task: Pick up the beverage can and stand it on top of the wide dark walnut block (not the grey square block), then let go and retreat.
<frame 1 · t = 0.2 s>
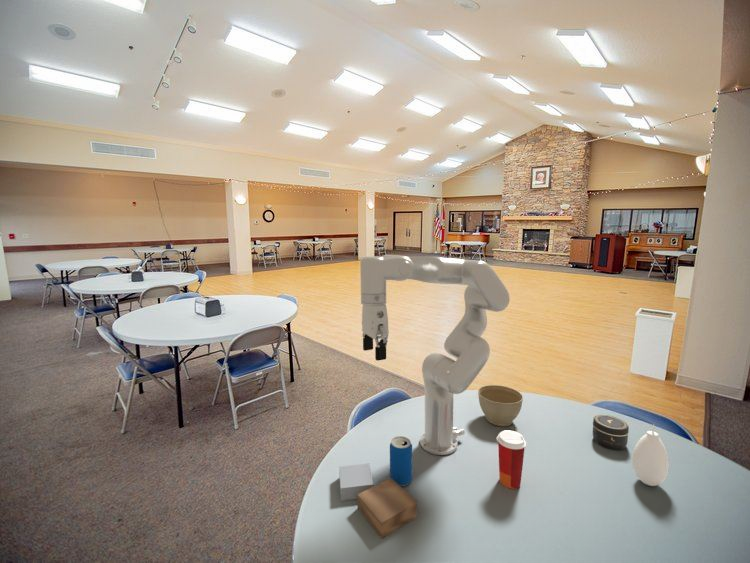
hand: (374, 354, 102), 36 cm above the table, tool pointing down, fingers open, 9 cm apart
jar: (609, 443, 116), on the table
walnut block: (386, 512, 88), on the table
white egg shaped candle: (648, 483, 97), on the table
beverage can: (401, 480, 100), on the table
paper cup: (509, 482, 98), on the table
grey square block: (356, 488, 97), on the table
planter bowl: (499, 420, 132), on the table
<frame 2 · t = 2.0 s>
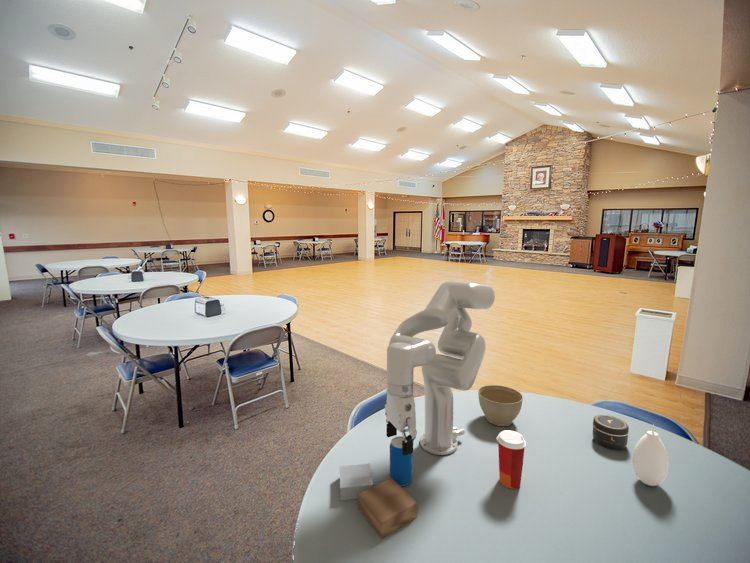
hand: (399, 444, 98), 12 cm above the table, tool pointing down, fingers open, 9 cm apart
nothing on the table moved.
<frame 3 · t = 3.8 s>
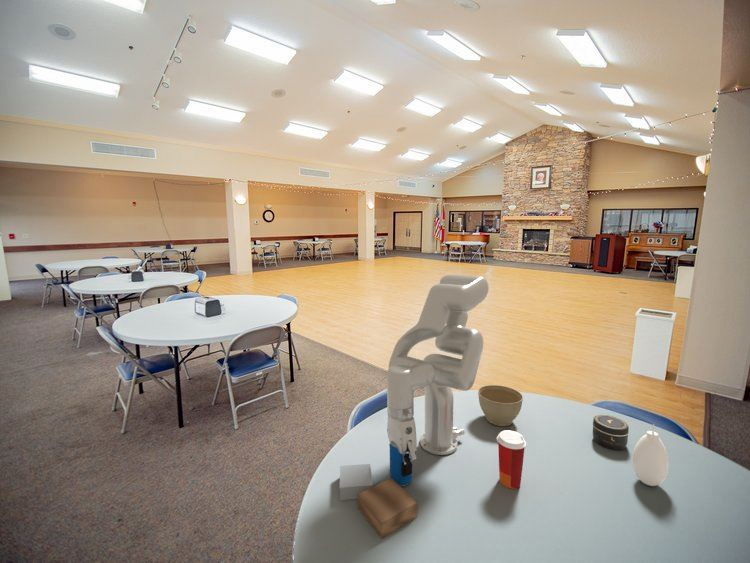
hand: (400, 466, 99), 4 cm above the table, tool pointing down, fingers closed on beverage can, 6 cm apart
beverage can: (401, 480, 100), on the table, touching gripper
everything else where it was.
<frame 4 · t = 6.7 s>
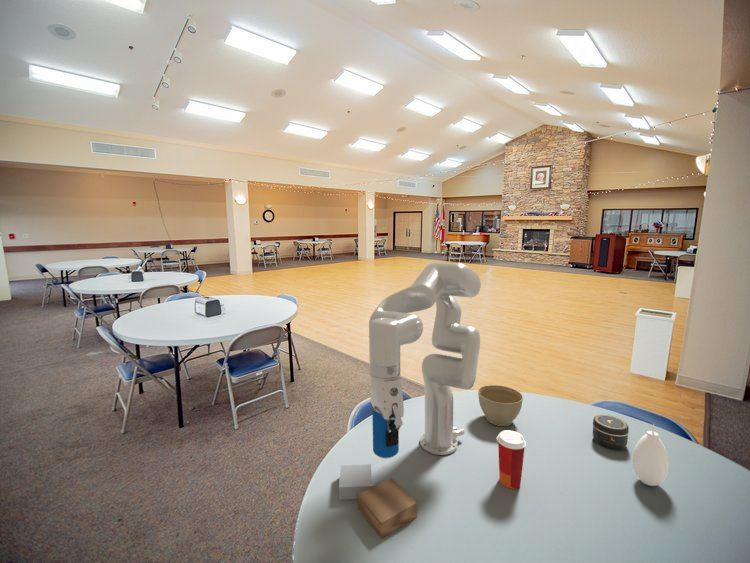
hand: (385, 436, 85), 21 cm above the table, tool pointing down, fingers closed on beverage can, 6 cm apart
beverage can: (385, 453, 86), point 17 cm above the table, touching gripper
everything else where it was.
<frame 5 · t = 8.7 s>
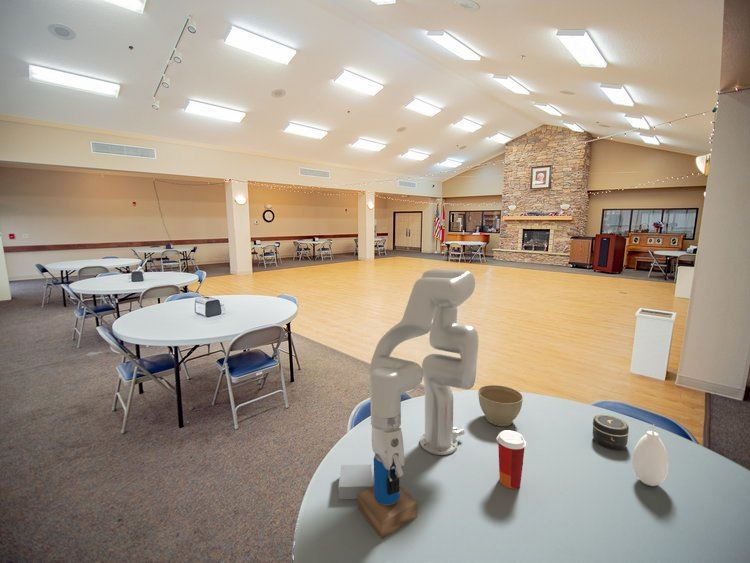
hand: (386, 482, 87), 8 cm above the table, tool pointing down, fingers closed on beverage can, 6 cm apart
beverage can: (386, 498, 88), point 4 cm above the table, touching gripper
everything else where it was.
when the fingers open (8 cm above the table, at t = 9.8 s): beverage can stays where it is, resting on walnut block.
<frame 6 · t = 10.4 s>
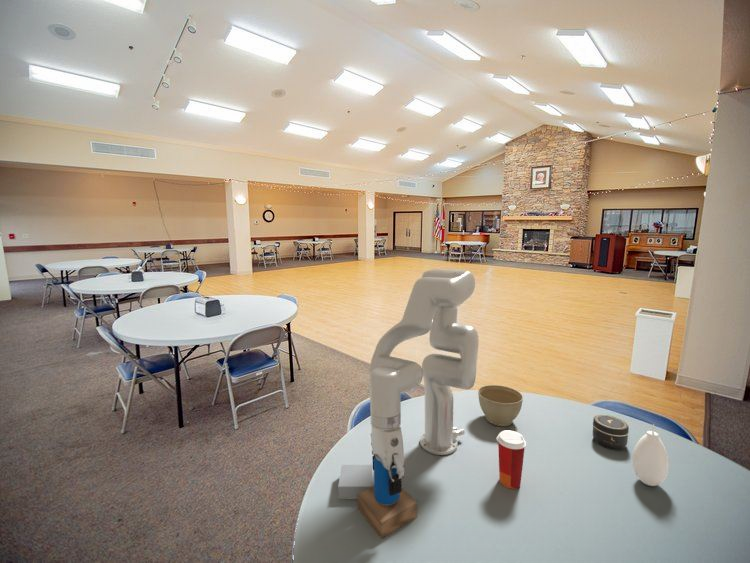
hand: (386, 480, 87), 9 cm above the table, tool pointing down, fingers open, 9 cm apart
beverage can: (386, 498, 88), point 4 cm above the table, touching walnut block
everything else where it was.
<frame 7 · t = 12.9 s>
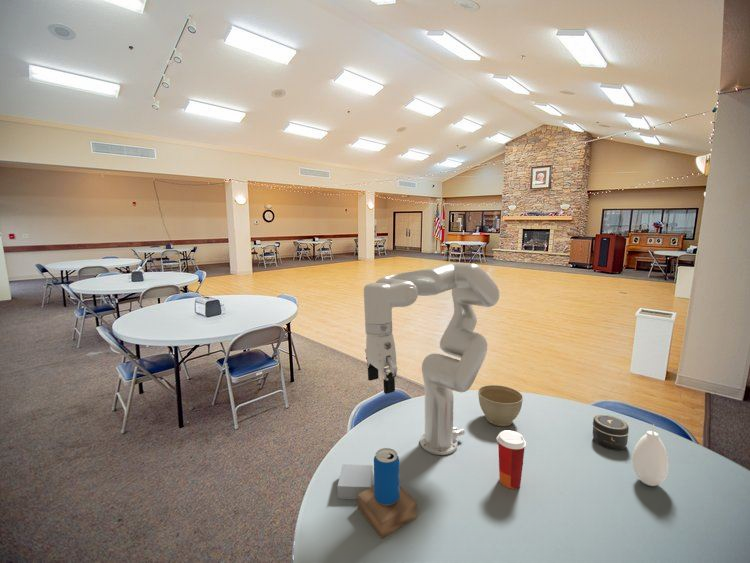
hand: (381, 385, 97), 29 cm above the table, tool pointing down, fingers open, 9 cm apart
nothing on the table moved.
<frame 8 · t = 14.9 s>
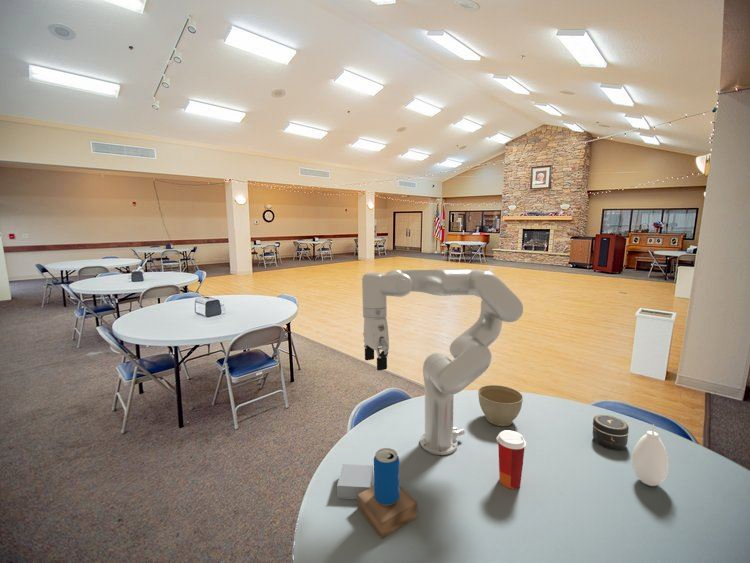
hand: (375, 364, 109), 30 cm above the table, tool pointing down, fingers open, 9 cm apart
nothing on the table moved.
at the end: beverage can inside the target area on the walnut block (0.1 cm from its centre), point 3.8 cm above the walnut block's base; beverage can tilted 0°; the gripper is holding nothing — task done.
